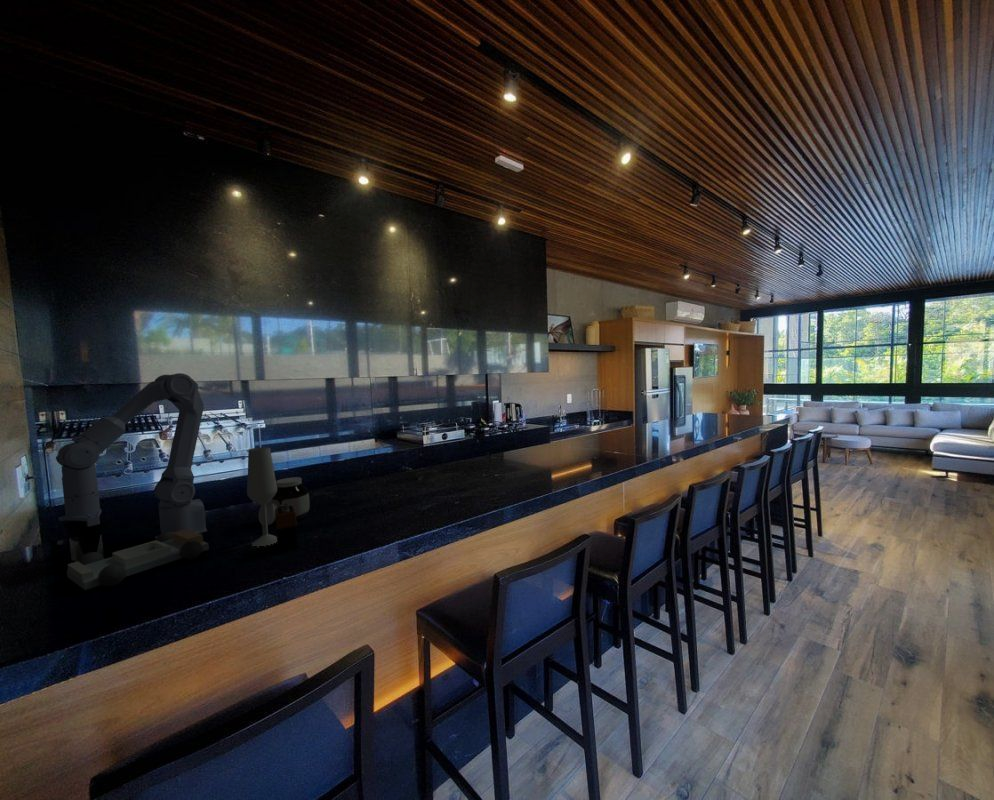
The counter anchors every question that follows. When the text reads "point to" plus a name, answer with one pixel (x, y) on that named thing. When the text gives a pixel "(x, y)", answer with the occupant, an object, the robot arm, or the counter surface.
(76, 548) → the engine block
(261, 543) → the champagne flute
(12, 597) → the counter surface
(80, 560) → the car chassis
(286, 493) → the spread jar
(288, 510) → the battery
